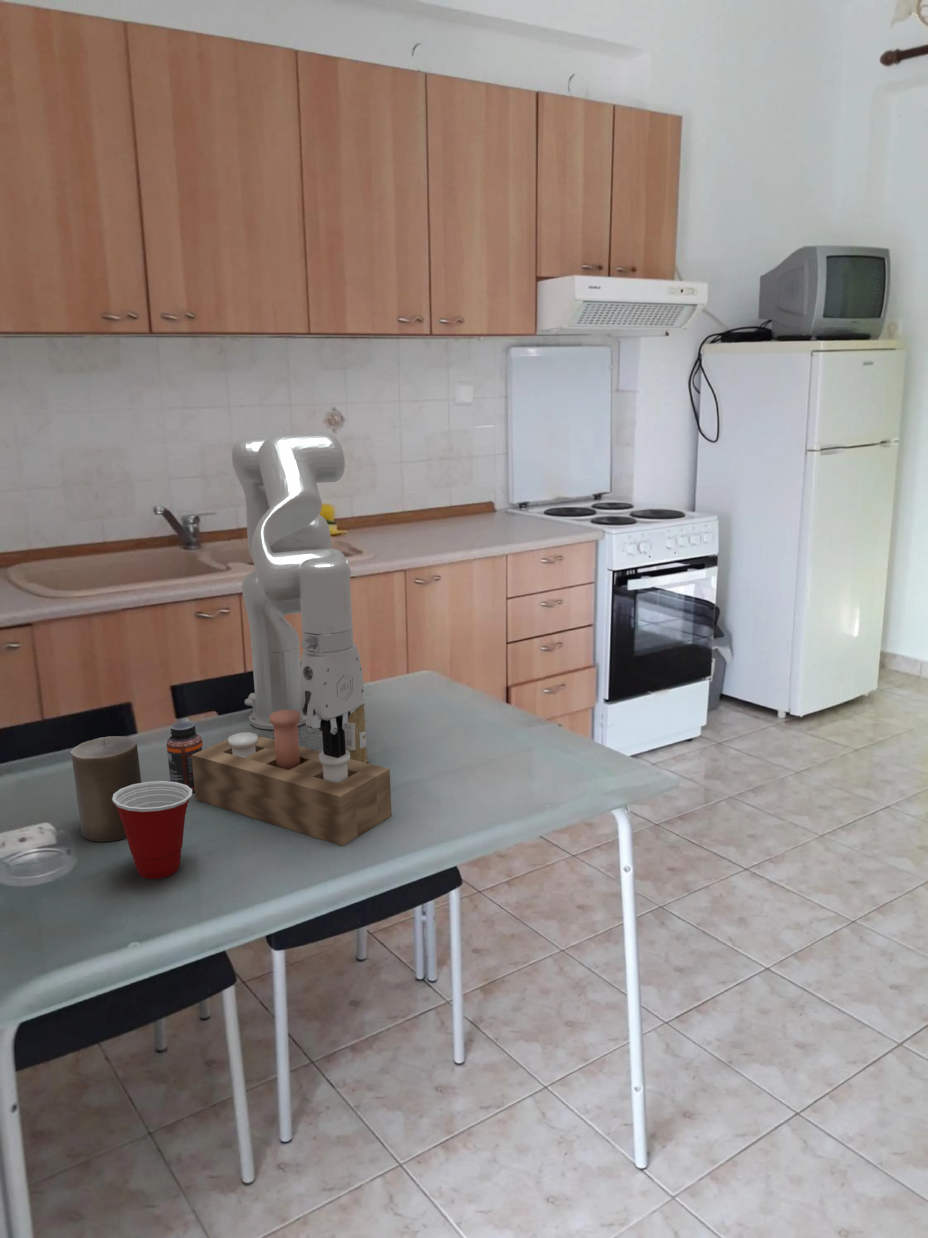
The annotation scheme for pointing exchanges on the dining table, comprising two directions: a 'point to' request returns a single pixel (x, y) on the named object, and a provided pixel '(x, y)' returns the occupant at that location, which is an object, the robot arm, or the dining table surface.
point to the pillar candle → (103, 783)
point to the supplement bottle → (183, 752)
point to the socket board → (293, 791)
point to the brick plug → (286, 738)
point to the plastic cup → (154, 824)
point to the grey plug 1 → (243, 744)
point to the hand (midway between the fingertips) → (334, 754)
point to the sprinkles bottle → (356, 735)
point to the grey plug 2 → (334, 767)
